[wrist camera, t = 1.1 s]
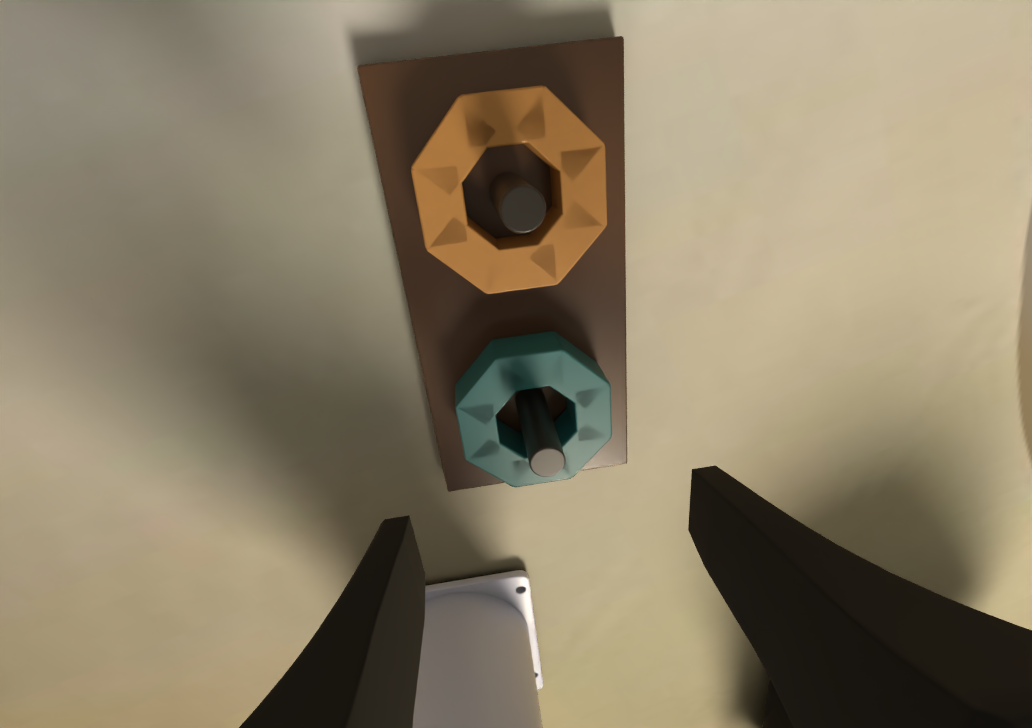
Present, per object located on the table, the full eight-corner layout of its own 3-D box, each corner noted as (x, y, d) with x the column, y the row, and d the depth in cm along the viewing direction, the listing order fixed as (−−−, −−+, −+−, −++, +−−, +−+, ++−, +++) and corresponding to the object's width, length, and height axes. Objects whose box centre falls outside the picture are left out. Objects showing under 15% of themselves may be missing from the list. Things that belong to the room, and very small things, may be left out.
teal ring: (601, 446, 21) (613, 472, 20) (470, 466, 21) (471, 495, 19) (597, 324, 19) (610, 342, 17) (448, 345, 18) (447, 365, 17)
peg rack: (622, 453, 22) (663, 533, 18) (448, 480, 22) (446, 570, 18) (616, 39, 15) (682, 2, 11) (360, 68, 15) (320, 41, 10)
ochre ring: (594, 264, 18) (608, 278, 16) (436, 286, 17) (435, 301, 16) (588, 83, 15) (604, 77, 14) (403, 104, 15) (397, 101, 13)
